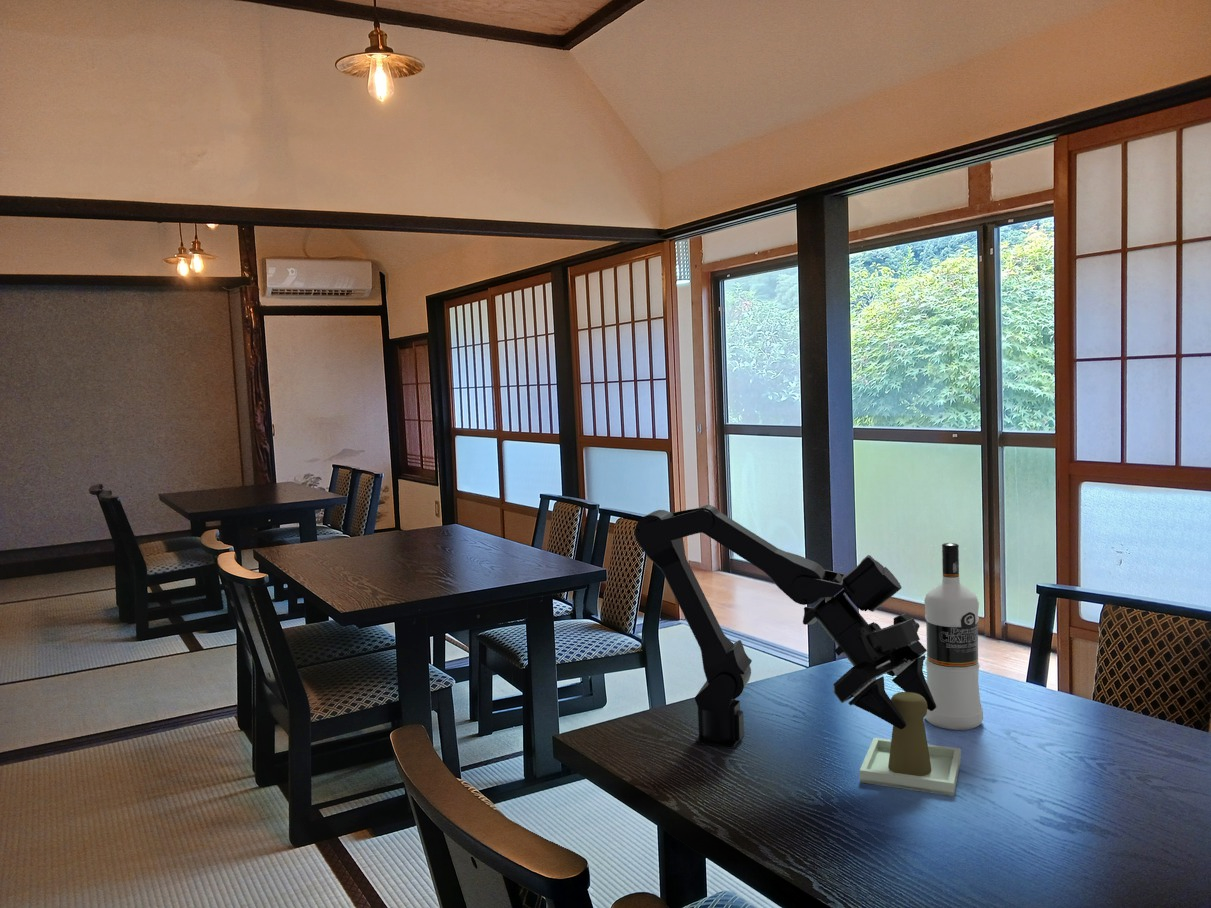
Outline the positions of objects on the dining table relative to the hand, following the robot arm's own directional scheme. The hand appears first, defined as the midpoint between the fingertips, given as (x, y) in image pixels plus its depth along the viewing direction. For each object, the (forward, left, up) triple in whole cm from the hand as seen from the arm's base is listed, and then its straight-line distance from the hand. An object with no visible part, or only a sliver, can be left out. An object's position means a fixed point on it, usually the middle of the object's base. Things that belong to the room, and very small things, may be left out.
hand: (919, 718), depth 130 cm
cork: (-2, 0, -8) cm, 8 cm away
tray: (-1, 0, -8) cm, 8 cm away
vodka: (+3, +22, -8) cm, 24 cm away
